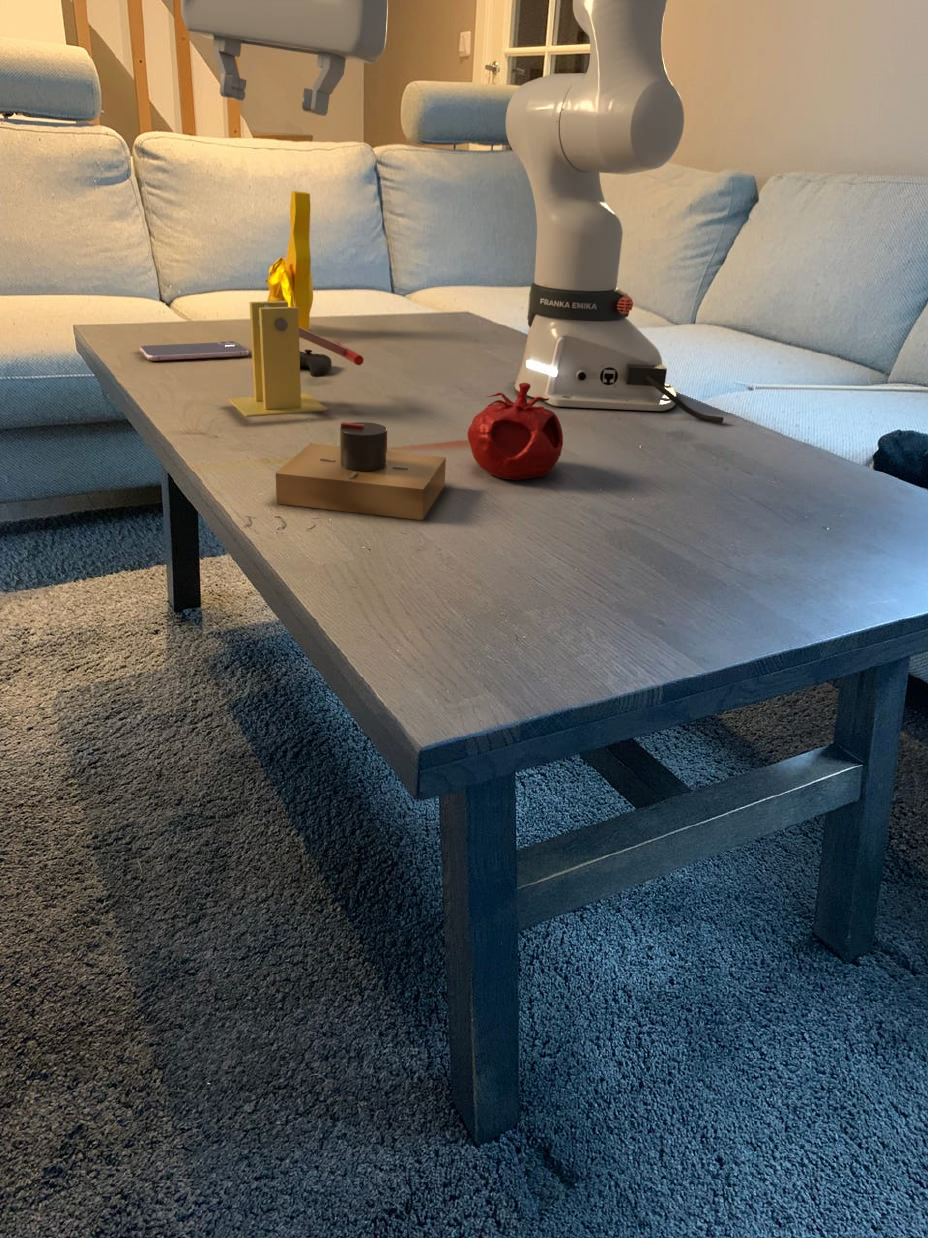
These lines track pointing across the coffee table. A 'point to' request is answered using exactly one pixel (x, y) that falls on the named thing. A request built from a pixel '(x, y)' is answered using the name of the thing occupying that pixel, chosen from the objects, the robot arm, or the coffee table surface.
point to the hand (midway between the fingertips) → (272, 105)
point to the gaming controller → (315, 363)
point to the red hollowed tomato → (516, 437)
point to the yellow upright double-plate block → (275, 363)
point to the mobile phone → (193, 351)
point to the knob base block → (361, 483)
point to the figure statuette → (295, 263)
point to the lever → (330, 345)
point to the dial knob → (363, 446)
